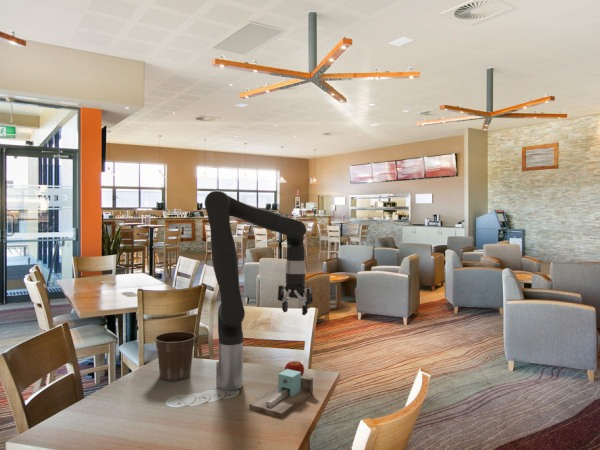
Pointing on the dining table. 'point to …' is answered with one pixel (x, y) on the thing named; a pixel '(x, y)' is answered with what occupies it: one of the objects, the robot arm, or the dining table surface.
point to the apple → (295, 366)
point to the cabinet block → (290, 381)
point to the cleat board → (283, 399)
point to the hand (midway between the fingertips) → (294, 313)
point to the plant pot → (175, 354)
